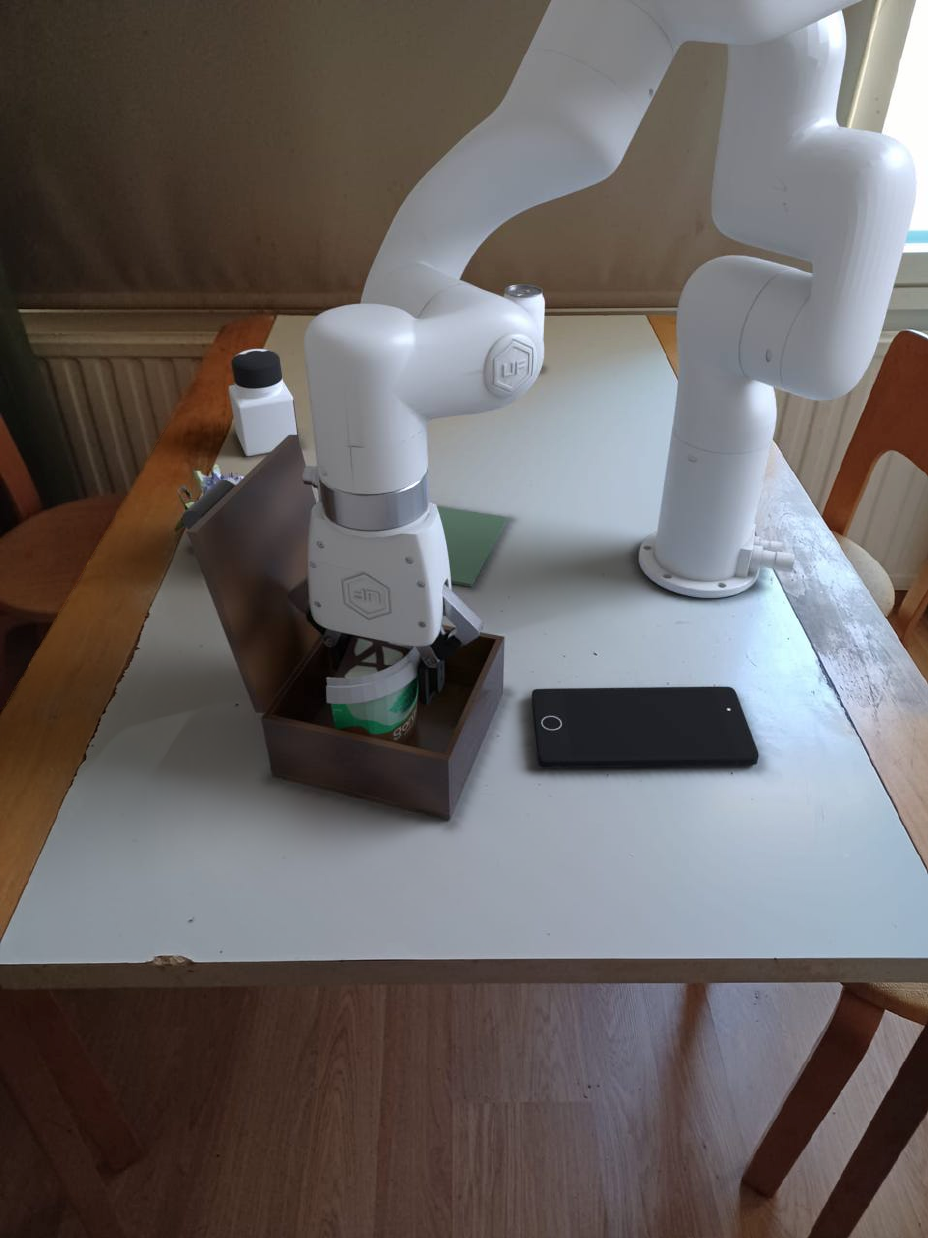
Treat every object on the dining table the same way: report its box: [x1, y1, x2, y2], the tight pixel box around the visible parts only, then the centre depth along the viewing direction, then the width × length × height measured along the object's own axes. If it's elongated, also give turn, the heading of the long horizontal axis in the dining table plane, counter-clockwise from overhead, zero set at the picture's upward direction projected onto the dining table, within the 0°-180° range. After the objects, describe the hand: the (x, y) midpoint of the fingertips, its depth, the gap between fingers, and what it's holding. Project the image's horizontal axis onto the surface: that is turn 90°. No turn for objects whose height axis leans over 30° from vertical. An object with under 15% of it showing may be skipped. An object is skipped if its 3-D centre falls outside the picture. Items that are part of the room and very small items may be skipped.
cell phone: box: [531, 686, 760, 769], centre depth 77 cm, size 9×18×1 cm, turn 91°
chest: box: [260, 624, 506, 821], centre depth 75 cm, size 15×15×7 cm
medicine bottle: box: [228, 348, 300, 457], centre depth 118 cm, size 7×7×12 cm
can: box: [502, 283, 546, 337], centre depth 137 cm, size 6×6×12 cm
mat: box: [436, 505, 508, 588], centre depth 102 cm, size 20×14×1 cm
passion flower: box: [174, 464, 245, 532], centre depth 98 cm, size 11×11×12 cm
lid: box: [181, 434, 321, 715], centre depth 71 cm, size 16×15×5 cm
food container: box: [326, 635, 422, 745], centre depth 74 cm, size 12×6×10 cm, turn 168°
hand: (389, 683), depth 74 cm, fingers closed on food container, 6 cm apart
